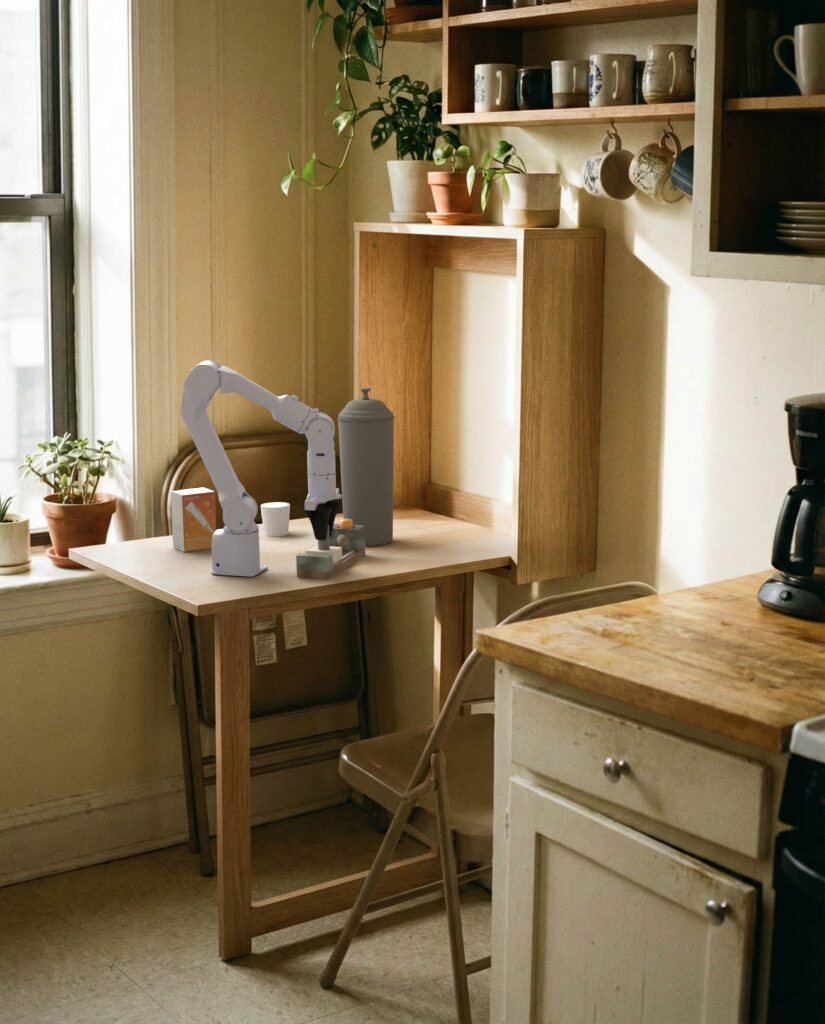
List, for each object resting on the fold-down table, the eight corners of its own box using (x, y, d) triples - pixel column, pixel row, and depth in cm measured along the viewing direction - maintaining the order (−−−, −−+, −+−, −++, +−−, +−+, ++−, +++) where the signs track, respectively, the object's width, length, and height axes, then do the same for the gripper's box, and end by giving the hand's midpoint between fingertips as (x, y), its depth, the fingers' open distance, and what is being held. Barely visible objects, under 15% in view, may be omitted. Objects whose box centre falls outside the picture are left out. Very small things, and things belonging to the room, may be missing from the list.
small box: (184, 552, 299) (181, 494, 296) (172, 547, 304) (169, 490, 302) (217, 547, 303) (215, 490, 301) (205, 542, 309) (203, 486, 306)
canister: (376, 550, 298) (373, 392, 291) (329, 544, 305) (325, 389, 298) (407, 539, 309) (405, 386, 302) (361, 533, 316) (357, 383, 308)
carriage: (306, 562, 279) (305, 527, 278) (315, 556, 284) (314, 522, 283) (333, 563, 278) (332, 528, 276) (342, 558, 282) (341, 523, 281)
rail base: (296, 576, 276) (295, 545, 275) (335, 552, 297) (334, 523, 295) (328, 579, 274) (328, 547, 273) (365, 554, 295) (364, 525, 293)
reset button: (337, 534, 292) (337, 520, 291) (342, 531, 294) (342, 518, 294) (350, 535, 291) (349, 521, 290) (354, 532, 294) (354, 518, 293)
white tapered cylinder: (275, 529, 322) (273, 500, 320) (297, 532, 318) (296, 503, 316) (255, 534, 316) (254, 505, 315) (277, 538, 312) (276, 508, 311)
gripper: (327, 480, 269) (329, 546, 272) (352, 468, 283) (353, 531, 285) (294, 478, 271) (296, 544, 274) (320, 466, 285) (322, 529, 288)
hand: (323, 538), depth 280 cm, fingers closed on carriage, 2 cm apart
